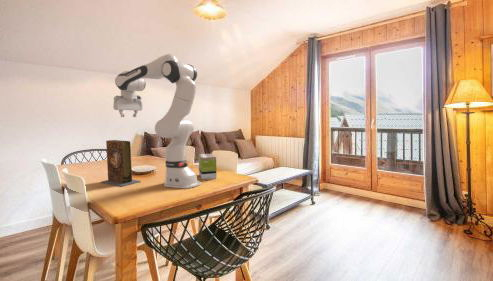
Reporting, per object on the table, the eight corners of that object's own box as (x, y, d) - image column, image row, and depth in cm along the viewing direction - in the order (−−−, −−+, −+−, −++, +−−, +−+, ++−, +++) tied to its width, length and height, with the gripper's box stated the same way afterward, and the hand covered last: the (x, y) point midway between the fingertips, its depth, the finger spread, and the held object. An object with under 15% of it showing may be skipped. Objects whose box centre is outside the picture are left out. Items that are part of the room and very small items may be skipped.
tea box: (198, 174, 180) (198, 153, 178) (212, 174, 183) (212, 153, 181) (201, 179, 165) (201, 157, 164) (216, 178, 168) (216, 156, 167)
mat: (140, 181, 160) (140, 180, 160) (121, 186, 149) (121, 185, 149) (119, 178, 170) (119, 177, 170) (100, 182, 158) (100, 181, 158)
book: (106, 180, 161) (104, 140, 158) (114, 178, 165) (113, 140, 163) (124, 183, 153) (122, 141, 151) (132, 181, 158) (130, 141, 155)
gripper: (117, 95, 162) (117, 117, 164) (143, 97, 180) (144, 117, 182) (110, 95, 165) (111, 117, 167) (137, 97, 183) (137, 117, 185)
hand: (128, 117), depth 174 cm, fingers open, 8 cm apart
